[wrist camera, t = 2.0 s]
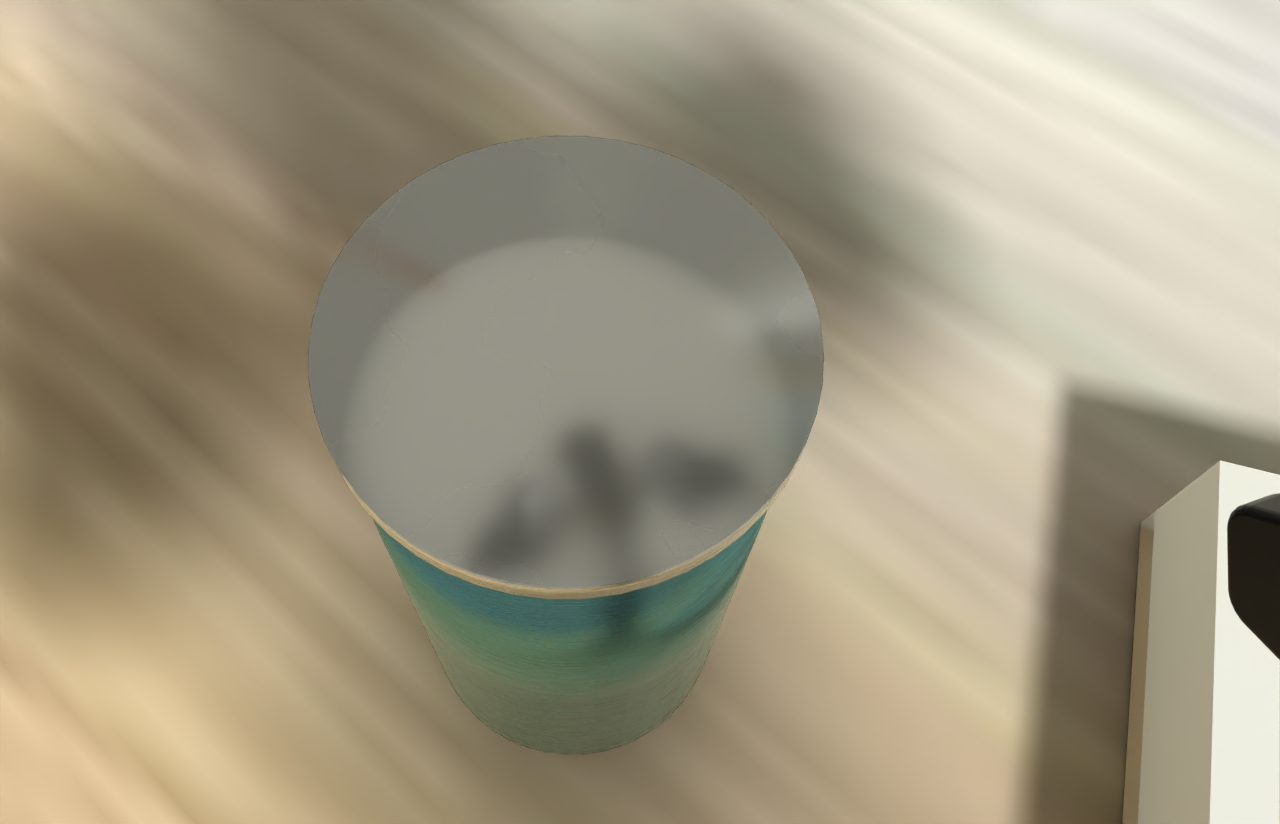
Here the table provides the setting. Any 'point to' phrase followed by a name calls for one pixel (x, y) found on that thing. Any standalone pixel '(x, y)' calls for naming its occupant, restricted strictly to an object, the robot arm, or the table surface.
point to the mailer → (1200, 669)
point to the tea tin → (567, 419)
